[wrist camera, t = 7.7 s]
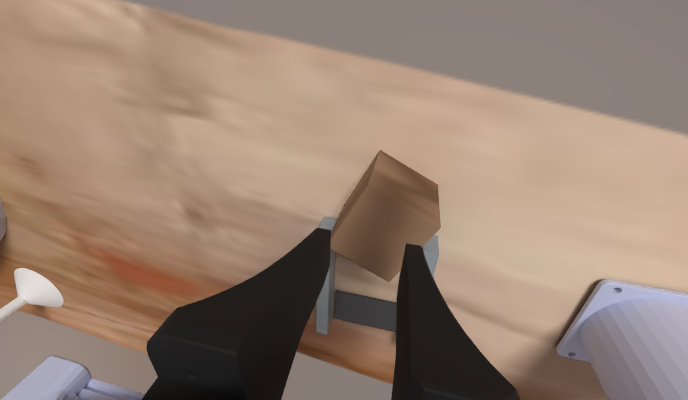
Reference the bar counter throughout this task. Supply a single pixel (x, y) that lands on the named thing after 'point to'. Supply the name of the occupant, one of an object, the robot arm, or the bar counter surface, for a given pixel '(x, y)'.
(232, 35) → the bar counter surface
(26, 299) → the champagne flute
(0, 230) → the dish
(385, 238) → the walnut block
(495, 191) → the bar counter surface
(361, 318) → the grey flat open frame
